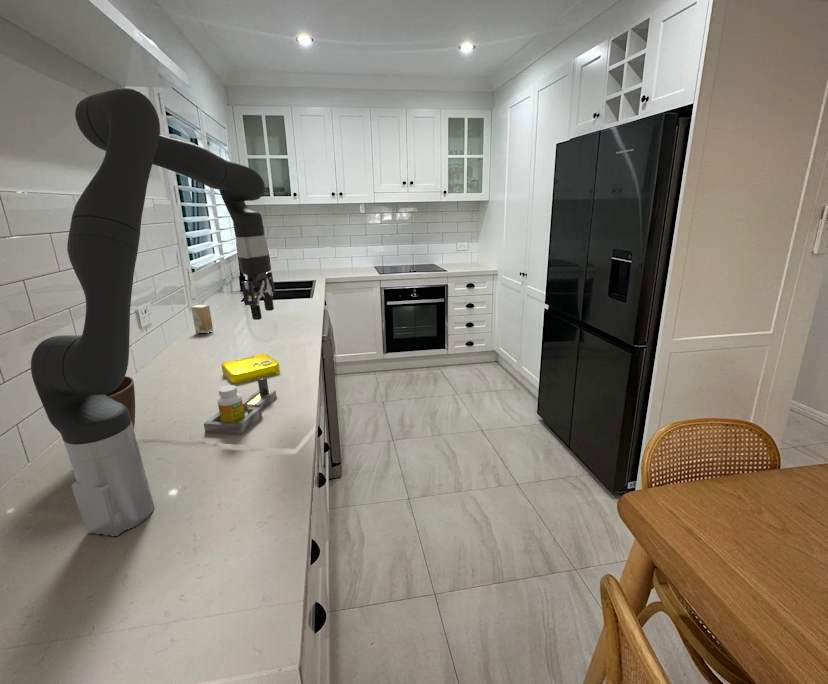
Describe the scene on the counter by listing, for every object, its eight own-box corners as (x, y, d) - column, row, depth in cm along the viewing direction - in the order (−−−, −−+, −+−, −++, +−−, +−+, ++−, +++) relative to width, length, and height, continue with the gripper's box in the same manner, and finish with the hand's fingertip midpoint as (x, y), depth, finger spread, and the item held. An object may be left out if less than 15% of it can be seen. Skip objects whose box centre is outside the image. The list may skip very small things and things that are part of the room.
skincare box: (195, 333, 188) (189, 306, 184) (202, 330, 192) (197, 304, 188) (207, 334, 186) (202, 307, 183) (214, 331, 190) (209, 304, 186)
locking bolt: (255, 410, 111) (252, 389, 109) (247, 409, 112) (243, 389, 110) (271, 396, 119) (268, 377, 117) (263, 396, 119) (260, 377, 118)
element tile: (267, 363, 149) (265, 350, 147) (282, 376, 137) (280, 362, 136) (222, 374, 140) (219, 361, 139) (233, 389, 129) (231, 374, 127)
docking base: (245, 442, 98) (243, 429, 97) (195, 438, 100) (192, 425, 99) (293, 397, 120) (291, 386, 119) (251, 395, 123) (249, 384, 122)
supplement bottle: (237, 430, 101) (230, 393, 98) (217, 429, 103) (210, 392, 100) (250, 420, 106) (244, 384, 103) (231, 418, 108) (224, 383, 105)
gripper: (251, 250, 116) (260, 308, 122) (226, 258, 103) (238, 323, 108) (277, 249, 116) (286, 307, 121) (256, 257, 102) (267, 322, 108)
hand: (263, 314), depth 115 cm, fingers open, 8 cm apart
